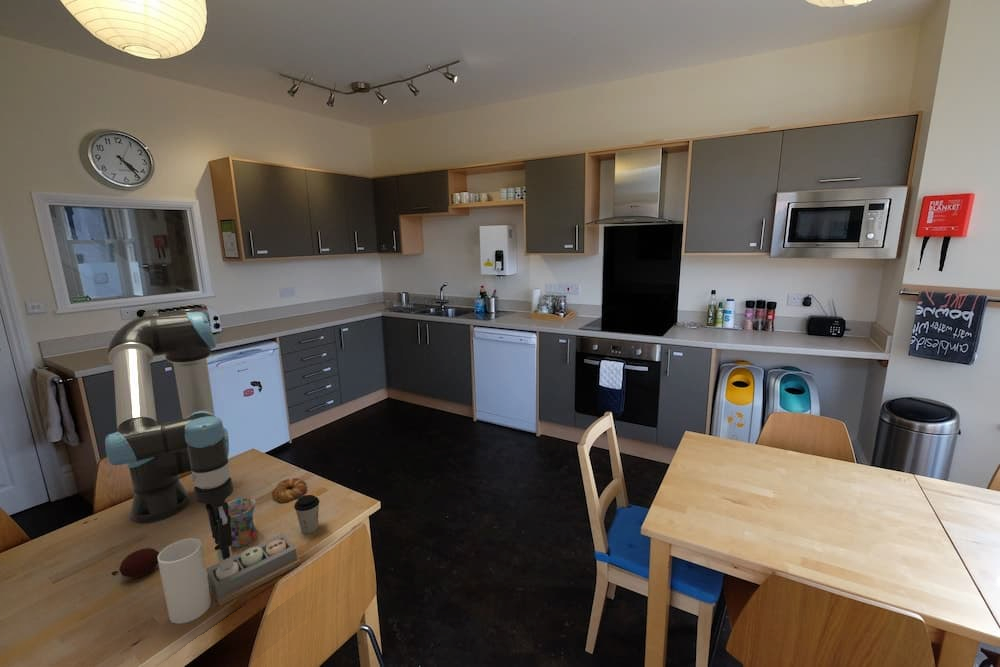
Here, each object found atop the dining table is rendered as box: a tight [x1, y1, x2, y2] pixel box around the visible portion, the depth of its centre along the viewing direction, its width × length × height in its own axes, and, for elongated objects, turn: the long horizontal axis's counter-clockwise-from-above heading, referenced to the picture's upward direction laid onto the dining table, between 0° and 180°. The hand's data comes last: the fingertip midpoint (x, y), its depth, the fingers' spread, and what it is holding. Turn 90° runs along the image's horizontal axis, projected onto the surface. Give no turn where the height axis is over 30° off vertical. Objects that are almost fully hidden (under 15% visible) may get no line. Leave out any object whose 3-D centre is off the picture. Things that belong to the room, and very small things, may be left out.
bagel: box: [271, 477, 307, 504], centre depth 152 cm, size 12×11×4 cm
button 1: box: [216, 562, 239, 581], centre depth 111 cm, size 5×5×3 cm
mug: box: [227, 497, 259, 548], centre depth 129 cm, size 12×9×11 cm
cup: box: [158, 537, 212, 625], centre depth 103 cm, size 8×8×16 cm
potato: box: [119, 547, 160, 579], centre depth 116 cm, size 7×8×6 cm
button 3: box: [266, 540, 286, 557], centre depth 119 cm, size 5×5×3 cm
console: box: [206, 533, 301, 607], centre depth 116 cm, size 12×19×4 cm, turn 136°
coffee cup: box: [294, 494, 320, 535], centre depth 132 cm, size 7×7×10 cm
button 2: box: [241, 546, 263, 569], centre depth 115 cm, size 5×5×3 cm
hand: (226, 566), depth 111 cm, fingers closed
